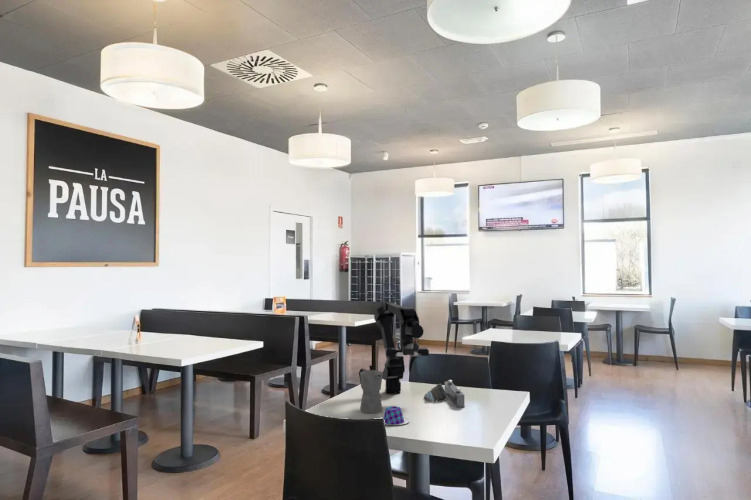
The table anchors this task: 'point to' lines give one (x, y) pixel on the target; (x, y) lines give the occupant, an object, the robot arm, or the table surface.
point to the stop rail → (454, 394)
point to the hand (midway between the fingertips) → (406, 371)
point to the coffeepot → (371, 390)
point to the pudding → (394, 416)
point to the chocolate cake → (436, 393)
